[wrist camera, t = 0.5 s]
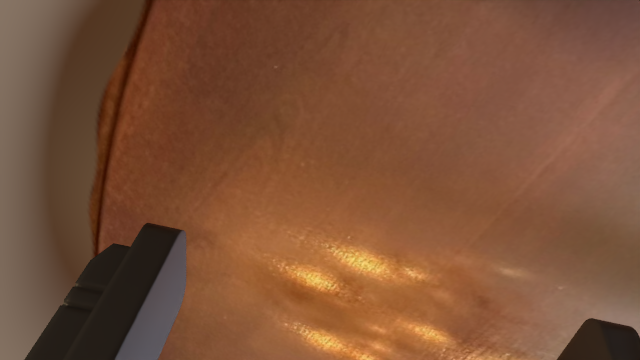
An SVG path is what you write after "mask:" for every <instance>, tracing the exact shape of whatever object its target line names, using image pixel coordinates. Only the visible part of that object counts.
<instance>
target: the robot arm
mask: <svg viewBox="0 0 640 360" xmlns="http://www.w3.org/2000/svg"><path fill="white" fill-rule="evenodd" d="M185 287H186V233H185V231H184V230H179V229H175V228H170V227H165V226H160V225H156V224H151V223H146V224H145V225H144V226H143V227H142V229H141V230H140V232H139V234H138V235H137V237H136V239H135V240H134V242H133V244H132V245H131V247H128V246H124V245H119V244H114V243H113V244H112V245H111V246H109V247H108V248H107V249H105V250H104V251H103V252H101V253H100V254H98V255H97V256H96V257H94V258H93V259H92V260H90V262H89V263H88V265H87V266H86V268H85V269H84V271H83V272H82V274H81V275H80V277H79V278H78V280H77V281H76V285H75V287H73V288H72V289H71V290H70V292H69V293H68V295H67V296H66V298H65V299H64V303H63V305H62V306H60V307H59V309H58V310H57V312H56V313H55V315H54V316H53V317H52V319H51V321H50V322H49V324H48V325H47V327H46V328H45V330H44V331H43V333H42V334H41V336H40V337H39V339H38V340H37V342H36V343H35V345H34V346H33V348H32V349H31V351H30V352H29V354H28V355H27V357H26V358H25V360H158V358H159V355H160V353H161V351H162V349H163V346H164V344H165V342H166V339H167V337H168V335H169V333H170V330H171V328H172V326H173V323H174V321H175V319H176V317H177V314H178V312H179V310H180V307H181V304H182V301H183V297H184V292H185ZM557 360H640V337H639V335H638V333H637V332H636V330H635V329H634V328H632V327H630V326H626V325H621V324H616V323H611V322H607V321H602V320H597V319H593V318H591V319H588V320H586V321H585V322H584V323H583V324H582V326H581V327H580V328H579V330H578V331H577V333H576V334H575V335H574V337H573V338H572V339H571V341H570V342H569V344H568V345H567V346H566V348H565V349H564V351H563V352H562V353H561V355H560V356H559V357H558V359H557Z"/></svg>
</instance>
